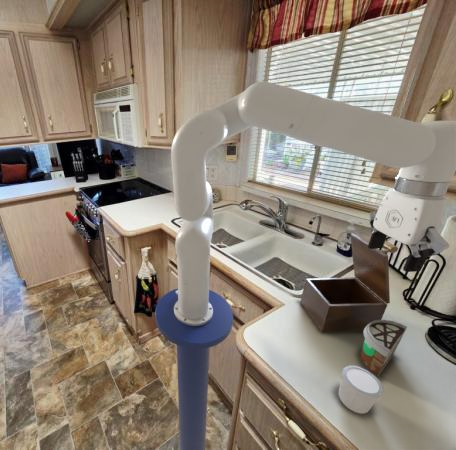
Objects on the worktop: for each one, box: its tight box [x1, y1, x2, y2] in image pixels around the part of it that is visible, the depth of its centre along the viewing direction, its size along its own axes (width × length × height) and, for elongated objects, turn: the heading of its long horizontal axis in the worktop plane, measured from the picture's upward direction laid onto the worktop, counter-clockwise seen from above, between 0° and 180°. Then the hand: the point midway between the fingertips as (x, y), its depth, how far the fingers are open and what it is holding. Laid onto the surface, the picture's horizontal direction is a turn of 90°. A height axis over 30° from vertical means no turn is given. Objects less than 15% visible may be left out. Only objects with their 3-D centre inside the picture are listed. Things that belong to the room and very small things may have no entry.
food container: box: [360, 319, 408, 377], centre depth 63 cm, size 12×6×10 cm, turn 123°
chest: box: [299, 276, 388, 333], centre depth 76 cm, size 16×13×10 cm
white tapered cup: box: [338, 365, 384, 415], centre depth 54 cm, size 7×7×7 cm
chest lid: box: [350, 232, 399, 305], centre depth 70 cm, size 16×13×6 cm
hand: (391, 258), depth 57 cm, fingers open, 9 cm apart
